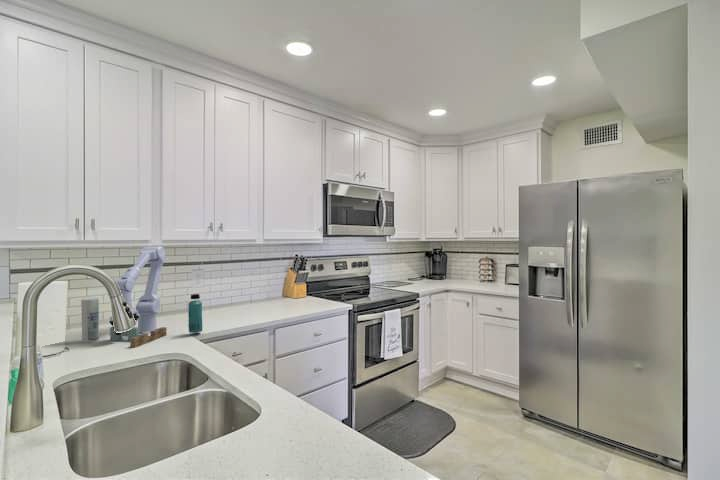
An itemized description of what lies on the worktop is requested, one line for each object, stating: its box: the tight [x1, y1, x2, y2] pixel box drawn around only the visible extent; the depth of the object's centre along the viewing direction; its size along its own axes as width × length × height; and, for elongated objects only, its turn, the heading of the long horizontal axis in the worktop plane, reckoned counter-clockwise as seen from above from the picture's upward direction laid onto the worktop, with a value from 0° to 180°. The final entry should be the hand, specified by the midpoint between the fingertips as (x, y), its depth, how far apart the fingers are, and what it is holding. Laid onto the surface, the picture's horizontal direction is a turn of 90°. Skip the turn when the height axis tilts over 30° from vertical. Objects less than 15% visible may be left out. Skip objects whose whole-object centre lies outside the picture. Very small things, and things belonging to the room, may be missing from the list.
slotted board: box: [129, 326, 167, 349], centre depth 169 cm, size 20×2×4 cm, turn 171°
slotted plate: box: [109, 326, 141, 342], centre depth 171 cm, size 14×2×6 cm, turn 81°
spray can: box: [80, 297, 100, 344], centre depth 170 cm, size 6×6×20 cm
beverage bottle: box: [187, 293, 203, 334], centre depth 180 cm, size 6×7×20 cm
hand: (124, 332), depth 171 cm, fingers open, 7 cm apart
